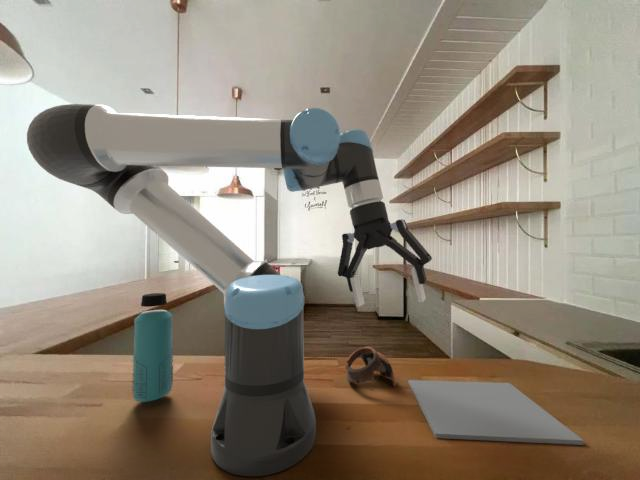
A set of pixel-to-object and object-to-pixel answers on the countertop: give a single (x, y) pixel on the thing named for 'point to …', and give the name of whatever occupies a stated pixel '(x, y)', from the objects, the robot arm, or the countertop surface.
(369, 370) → the broken terracotta jug
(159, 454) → the countertop surface
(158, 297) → the beverage bottle
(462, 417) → the gray mat
